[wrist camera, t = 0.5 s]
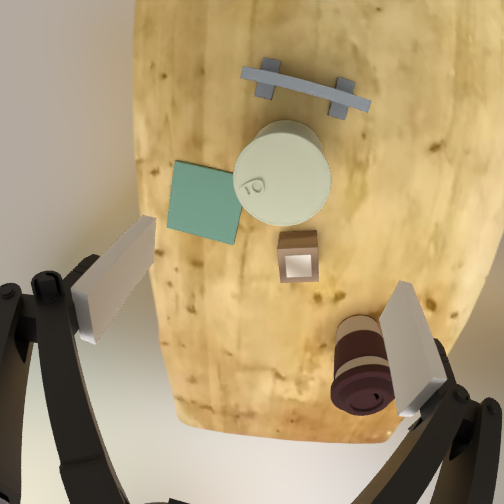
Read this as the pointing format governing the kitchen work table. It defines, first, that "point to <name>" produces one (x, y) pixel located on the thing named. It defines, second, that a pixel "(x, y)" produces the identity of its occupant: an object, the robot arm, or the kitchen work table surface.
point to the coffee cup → (361, 368)
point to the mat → (203, 202)
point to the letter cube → (298, 256)
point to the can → (283, 174)
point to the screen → (305, 88)
